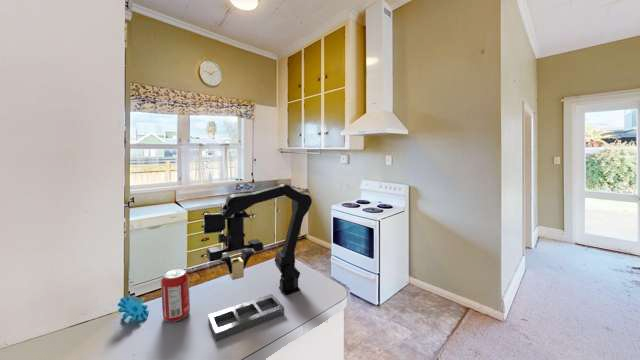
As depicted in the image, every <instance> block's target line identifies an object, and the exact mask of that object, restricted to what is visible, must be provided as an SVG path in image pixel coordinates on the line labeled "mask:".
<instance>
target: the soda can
mask: <svg viewBox="0 0 640 360" xmlns="http://www.w3.org/2000/svg"><path fill="white" fill-rule="evenodd" d="M189 278H190V276H189V274H188V273H187V270H186V269H184V268H175V269H171V270H169V271H168V270H167V271H166V272H165V273H164V274H163V275H162V279H161V281H160V290H161V305H162V306H161V308H162V318H163V320H164V321H166V322H177V321H180V320H182V319H184V318H186V317H187V316H188V315H189V314H190V312H191V303H190V302H191V301H190V300H191V299H190V298H191V296H190V279H189Z"/></svg>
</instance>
